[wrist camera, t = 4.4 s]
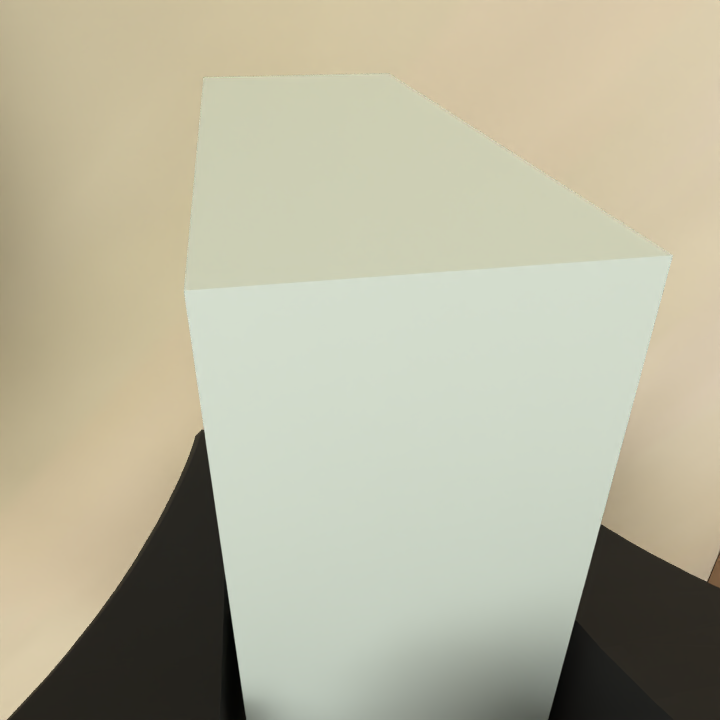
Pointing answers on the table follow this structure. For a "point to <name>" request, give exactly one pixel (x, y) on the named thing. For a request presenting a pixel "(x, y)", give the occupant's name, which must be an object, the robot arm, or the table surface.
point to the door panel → (403, 397)
